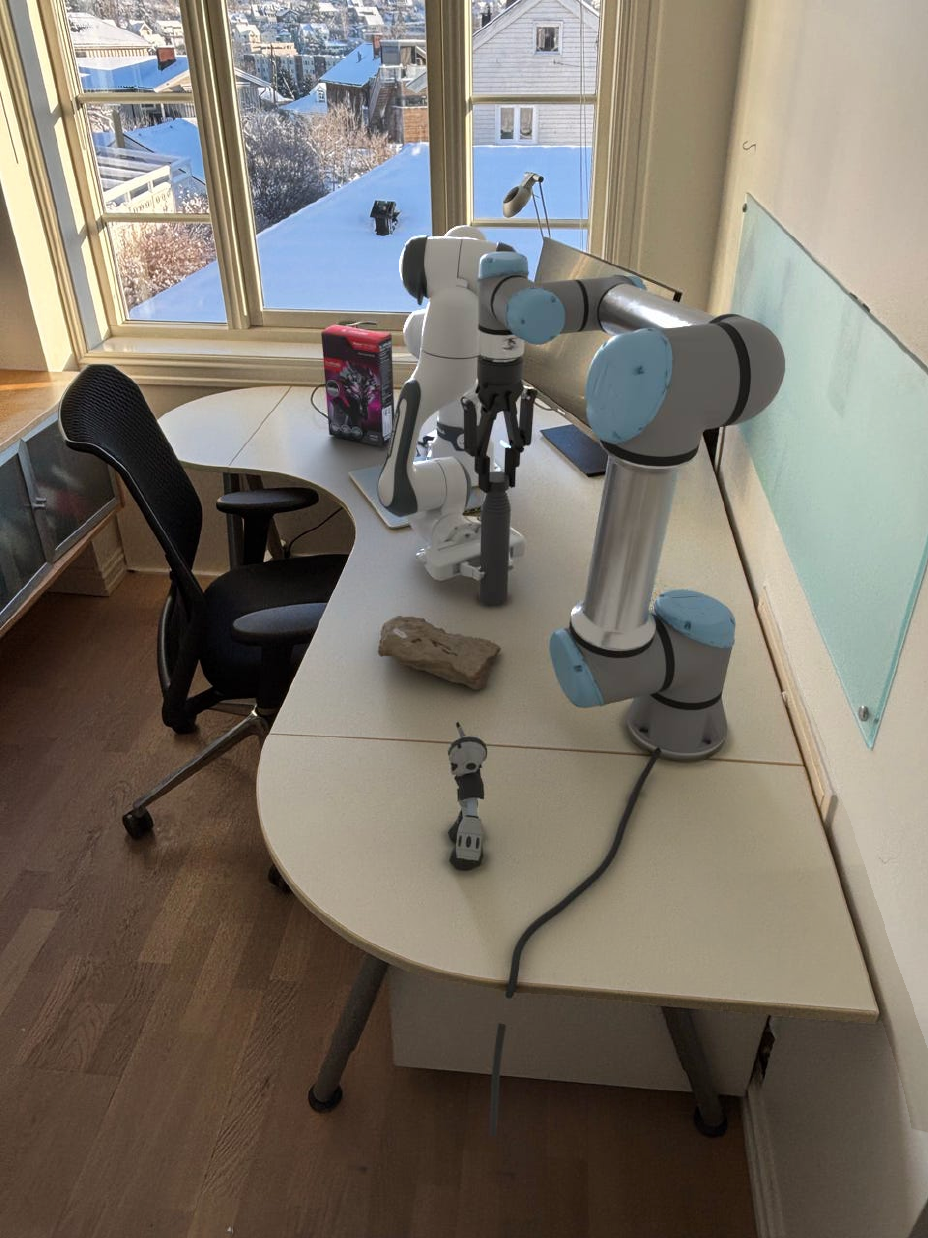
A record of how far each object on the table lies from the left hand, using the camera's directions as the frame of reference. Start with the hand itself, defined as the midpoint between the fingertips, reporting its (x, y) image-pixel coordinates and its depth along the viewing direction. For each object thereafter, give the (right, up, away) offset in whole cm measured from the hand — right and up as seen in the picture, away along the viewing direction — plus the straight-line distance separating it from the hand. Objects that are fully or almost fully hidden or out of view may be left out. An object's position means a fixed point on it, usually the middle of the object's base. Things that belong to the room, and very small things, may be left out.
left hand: (497, 571), depth 170 cm
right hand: (0, +14, -9) cm, 17 cm away
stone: (-11, -16, -13) cm, 24 cm away
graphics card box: (-32, +38, +68) cm, 84 cm away
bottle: (-1, -5, +4) cm, 7 cm away
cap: (0, +16, -10) cm, 18 cm away
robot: (-6, -39, -47) cm, 61 cm away
